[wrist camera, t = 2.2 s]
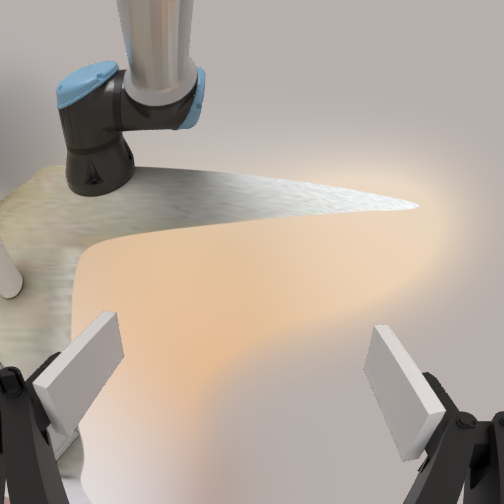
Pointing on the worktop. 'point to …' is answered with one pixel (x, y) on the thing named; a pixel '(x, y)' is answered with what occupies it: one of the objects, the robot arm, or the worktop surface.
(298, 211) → the worktop surface
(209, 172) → the worktop surface
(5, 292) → the drinking glass
